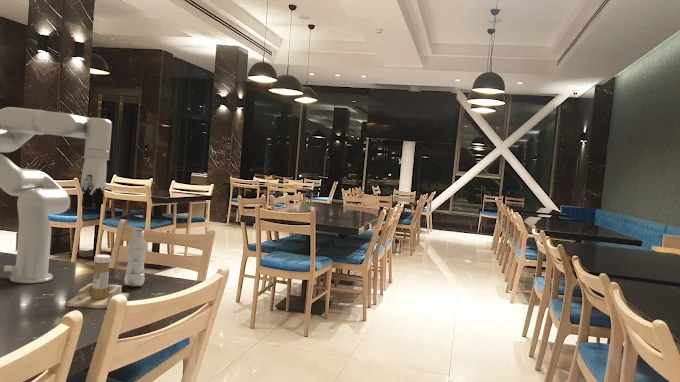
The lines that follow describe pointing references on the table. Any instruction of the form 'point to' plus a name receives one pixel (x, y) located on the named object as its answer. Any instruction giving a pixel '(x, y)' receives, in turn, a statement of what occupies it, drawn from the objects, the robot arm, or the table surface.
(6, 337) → the table surface
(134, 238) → the plastic bottle
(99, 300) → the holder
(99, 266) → the sprinkles bottle
